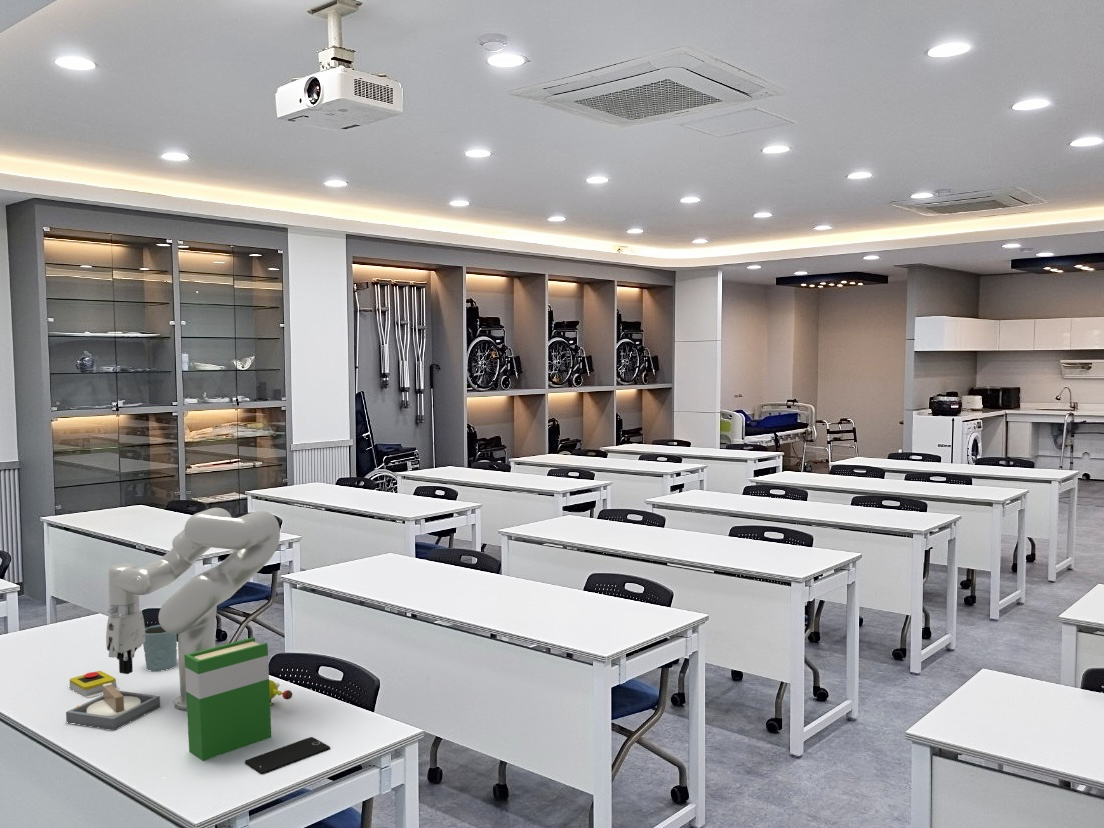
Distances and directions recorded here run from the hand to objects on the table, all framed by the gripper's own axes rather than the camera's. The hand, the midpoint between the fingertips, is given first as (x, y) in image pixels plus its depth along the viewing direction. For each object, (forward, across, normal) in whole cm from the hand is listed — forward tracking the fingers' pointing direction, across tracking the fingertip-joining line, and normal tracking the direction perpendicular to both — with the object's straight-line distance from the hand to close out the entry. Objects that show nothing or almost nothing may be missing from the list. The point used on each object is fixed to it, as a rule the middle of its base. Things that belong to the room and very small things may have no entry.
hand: (126, 672), depth 251 cm
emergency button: (+9, +4, +16) cm, 19 cm away
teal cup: (+8, +24, +10) cm, 28 cm away
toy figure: (+6, +8, -42) cm, 43 cm away
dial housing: (+8, -10, -6) cm, 14 cm away
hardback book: (+6, -16, -48) cm, 51 cm away
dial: (+6, -10, -6) cm, 13 cm away
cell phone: (+6, -17, -66) cm, 69 cm away
